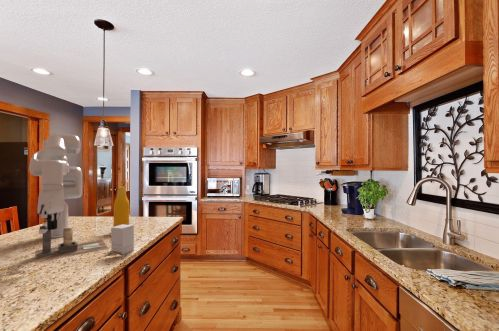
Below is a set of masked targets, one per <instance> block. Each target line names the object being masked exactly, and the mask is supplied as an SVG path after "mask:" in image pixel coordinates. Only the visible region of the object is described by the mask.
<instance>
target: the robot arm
mask: <svg viewBox="0 0 499 331" xmlns="http://www.w3.org/2000/svg"><path fill="white" fill-rule="evenodd" d="M81 146H82V145H81V139H80V137H79V136H78V135H76V134H67V133H66V134H65V133H64V134H63V133H53V134H50V135H49V136H48V137H47V139H44V140H43V141H42V147H43V148H41V149H40V150H38V151H36V152H34V153H33V154H32V156H31V159H30V162H29V168H28V169H29V173H30V174H31V176H35V177H41V190H40V192H39V193H38V194H39V195H38V200H37V215H39V216H40V218H41V219H45V222H46V223H47V229H48V230H51V239H56V238H63V228H66V227H69V204H68V203H67V202H65V200H70V199H71V200H72V199H79V198H81V197H82V196H83V171H82V168H80V166H70V164H69V163H68V157H67V156H66V155H73V156H74V155H78V154H80V152H81V148H82V147H81Z"/></svg>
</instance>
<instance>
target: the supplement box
mask: <svg viewBox="0 0 499 331" xmlns="http://www.w3.org/2000/svg"><path fill="white" fill-rule="evenodd" d="M134 227H135V226H134V225H132V224H129V225H124V224H122V225H119V226H115V227H114V226H112V227H110V230H111V233H110V240H111V242H110V243H111V250H110V251H112V252H115V253H116V252H117V253H116V254H117V255H125V254H127V253H130V252H133V251H134V250H135V249H134V248H135V246H134V245H135V236H134V235H135V232H134V231H135V230H134V229H135V228H134Z"/></svg>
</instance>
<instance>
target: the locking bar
mask: <svg viewBox="0 0 499 331" xmlns="http://www.w3.org/2000/svg"><path fill="white" fill-rule="evenodd" d="M47 230H48V229H47V222H43V223H42V225H40V226H39V229H38V235H41V234H42V235H43V233H46V231H47Z"/></svg>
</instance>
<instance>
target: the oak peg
mask: <svg viewBox="0 0 499 331" xmlns="http://www.w3.org/2000/svg"><path fill="white" fill-rule="evenodd" d="M73 230H74V228H73V227H72V226H68V227H66V228H63V237H62V239H63V240H62V241H63V242H62V243H63V246H69V245H72V242H73V233H74V232H73Z"/></svg>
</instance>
